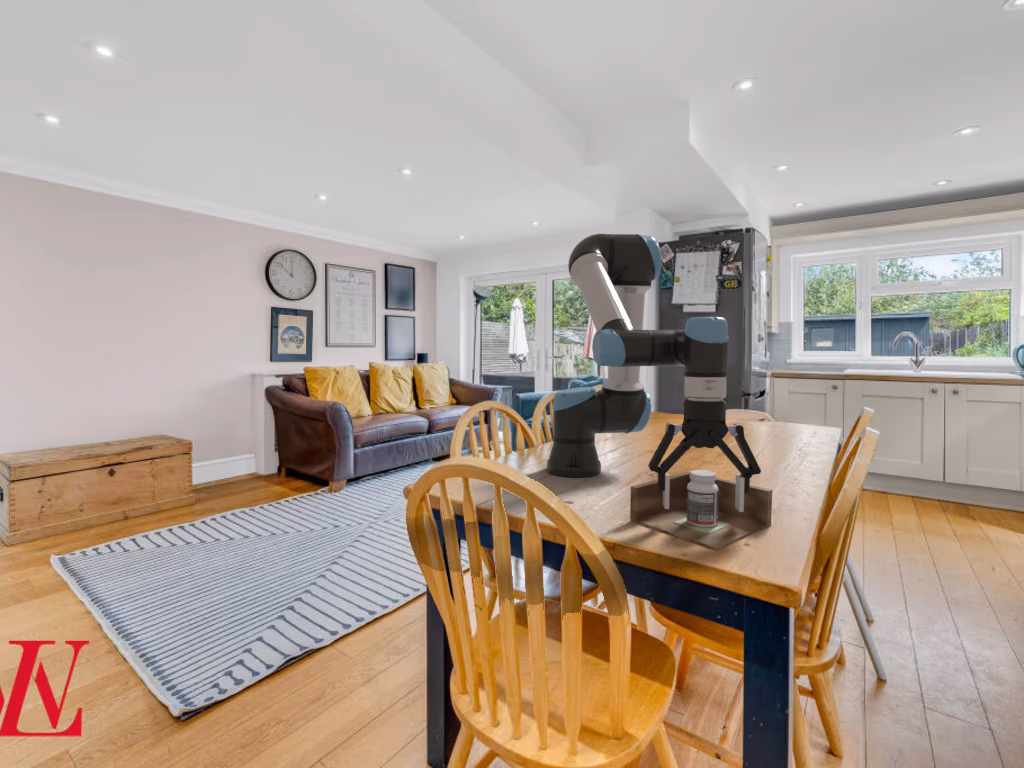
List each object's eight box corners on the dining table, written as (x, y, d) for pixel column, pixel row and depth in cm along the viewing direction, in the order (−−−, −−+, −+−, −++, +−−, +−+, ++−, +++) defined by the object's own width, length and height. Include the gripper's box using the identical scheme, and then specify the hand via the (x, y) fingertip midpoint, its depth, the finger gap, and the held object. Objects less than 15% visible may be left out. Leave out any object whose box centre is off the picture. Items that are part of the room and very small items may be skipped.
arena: (630, 520, 101) (630, 486, 100) (687, 502, 113) (687, 471, 112) (716, 549, 86) (717, 509, 86) (771, 525, 98) (772, 489, 97)
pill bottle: (696, 516, 102) (697, 467, 101) (723, 523, 97) (724, 472, 96) (680, 522, 98) (681, 472, 97) (707, 530, 94) (709, 477, 93)
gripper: (639, 400, 94) (638, 511, 95) (782, 401, 90) (778, 517, 92) (635, 396, 101) (634, 500, 103) (766, 397, 98) (763, 504, 99)
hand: (702, 508), depth 97 cm, fingers open, 13 cm apart
